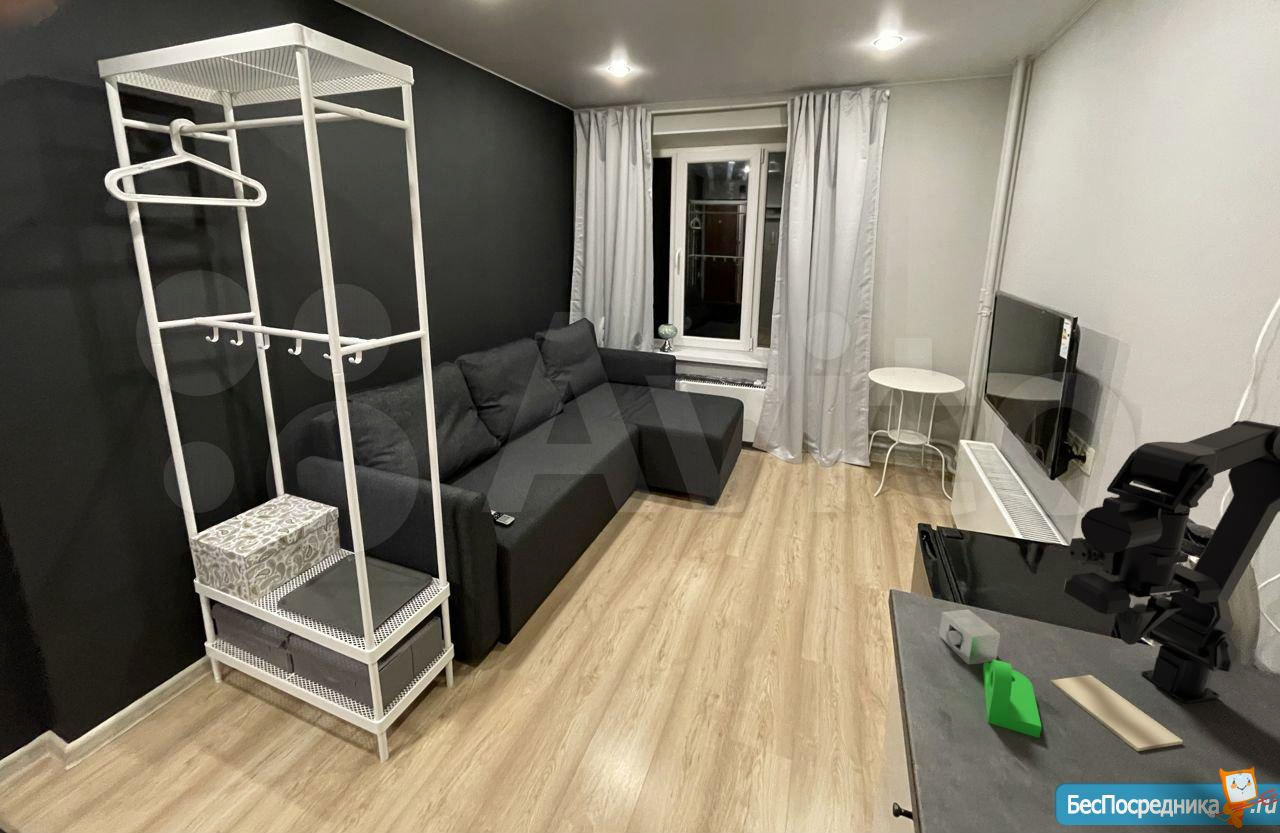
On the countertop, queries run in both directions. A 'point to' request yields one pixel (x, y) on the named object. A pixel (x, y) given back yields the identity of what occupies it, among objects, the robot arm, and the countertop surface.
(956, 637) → the shaft
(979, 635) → the bearing block
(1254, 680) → the countertop surface
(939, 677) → the countertop surface
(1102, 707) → the beige wooden board
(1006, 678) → the mechanical part
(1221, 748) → the countertop surface
